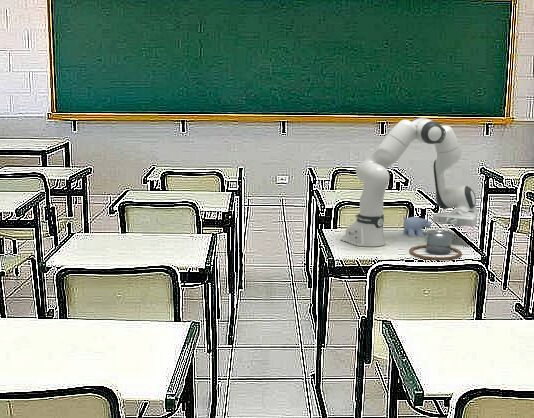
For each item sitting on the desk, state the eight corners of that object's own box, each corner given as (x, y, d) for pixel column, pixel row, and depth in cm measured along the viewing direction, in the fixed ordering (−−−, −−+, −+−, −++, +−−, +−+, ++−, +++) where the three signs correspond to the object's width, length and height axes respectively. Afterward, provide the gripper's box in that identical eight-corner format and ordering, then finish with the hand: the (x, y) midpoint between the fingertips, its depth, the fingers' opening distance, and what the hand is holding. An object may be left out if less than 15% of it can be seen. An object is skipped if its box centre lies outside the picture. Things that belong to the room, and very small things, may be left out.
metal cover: (421, 251, 348) (422, 230, 346) (435, 247, 355) (436, 226, 353) (441, 256, 340) (442, 234, 338) (455, 252, 347) (456, 231, 345)
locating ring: (399, 252, 346) (399, 250, 346) (430, 244, 361) (430, 242, 361) (440, 263, 329) (440, 260, 329) (471, 254, 344) (471, 251, 343)
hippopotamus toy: (434, 235, 378) (435, 217, 376) (406, 237, 375) (407, 218, 373) (425, 230, 388) (426, 212, 387) (398, 232, 385) (398, 214, 383)
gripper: (438, 208, 370) (427, 213, 359) (480, 212, 359) (469, 218, 348) (438, 221, 372) (427, 226, 360) (479, 225, 360) (469, 231, 349)
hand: (448, 222), depth 354 cm, fingers closed
